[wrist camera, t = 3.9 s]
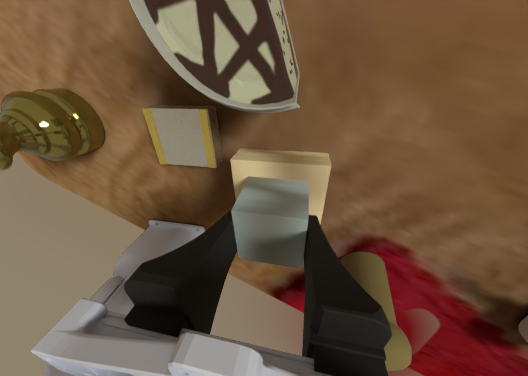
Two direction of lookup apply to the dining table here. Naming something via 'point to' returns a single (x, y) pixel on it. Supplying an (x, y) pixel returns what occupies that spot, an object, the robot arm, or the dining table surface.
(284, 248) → the stacked blocks
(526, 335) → the saucepan
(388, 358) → the cork
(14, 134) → the olive shiny rounded piece
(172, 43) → the food container
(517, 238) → the dining table surface
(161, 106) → the dock
